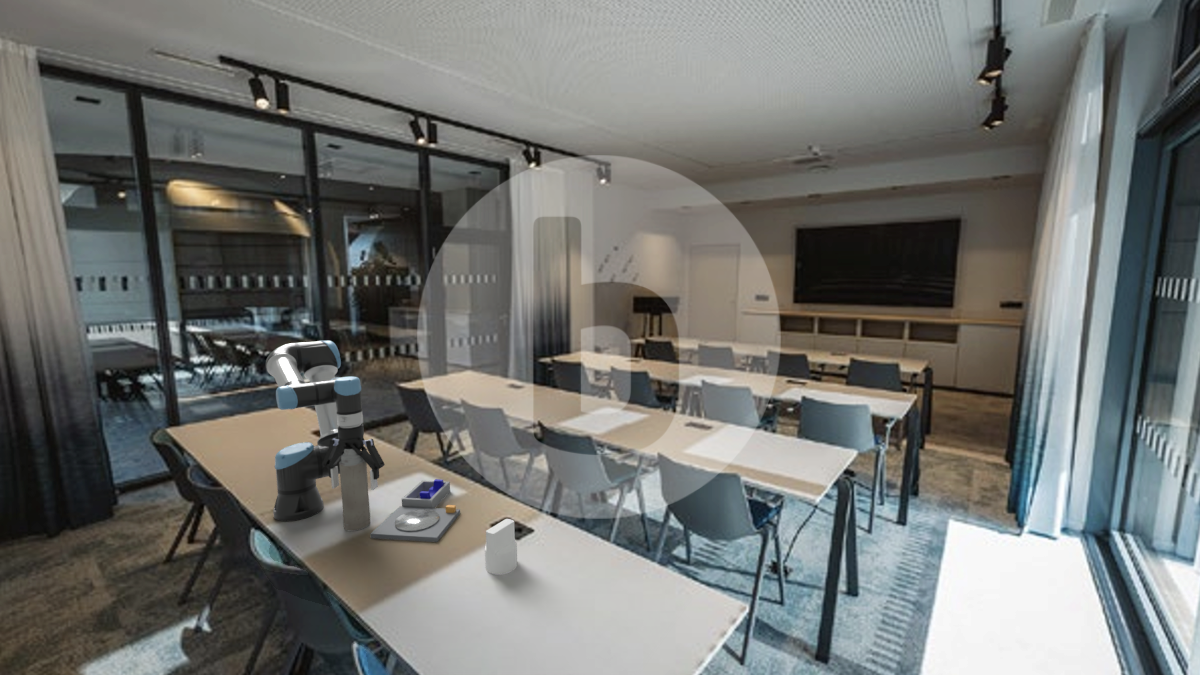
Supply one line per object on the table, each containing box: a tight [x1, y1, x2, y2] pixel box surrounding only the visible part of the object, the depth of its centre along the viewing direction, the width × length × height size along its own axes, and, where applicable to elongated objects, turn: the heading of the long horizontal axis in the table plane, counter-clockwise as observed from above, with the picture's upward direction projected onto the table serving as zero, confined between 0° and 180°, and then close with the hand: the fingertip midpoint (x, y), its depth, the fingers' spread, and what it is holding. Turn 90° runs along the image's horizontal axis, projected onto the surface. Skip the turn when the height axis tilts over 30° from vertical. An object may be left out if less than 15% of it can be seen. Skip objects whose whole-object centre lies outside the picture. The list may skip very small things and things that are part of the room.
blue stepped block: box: [419, 478, 444, 499], centre depth 188 cm, size 12×4×6 cm, turn 171°
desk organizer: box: [401, 480, 451, 508], centre depth 188 cm, size 11×16×4 cm
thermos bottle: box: [339, 445, 371, 532], centre depth 169 cm, size 8×8×28 cm
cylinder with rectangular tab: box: [484, 518, 518, 576], centre depth 146 cm, size 9×9×12 cm
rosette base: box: [369, 504, 461, 543], centre depth 170 cm, size 22×19×4 cm
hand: (354, 487), depth 168 cm, fingers open, 13 cm apart
